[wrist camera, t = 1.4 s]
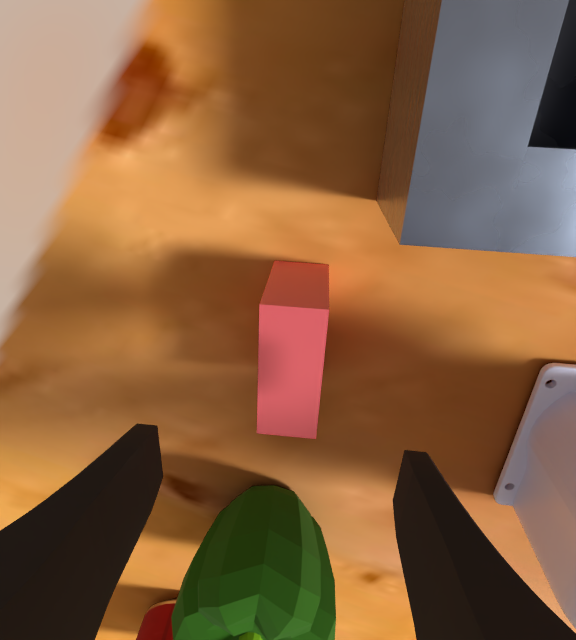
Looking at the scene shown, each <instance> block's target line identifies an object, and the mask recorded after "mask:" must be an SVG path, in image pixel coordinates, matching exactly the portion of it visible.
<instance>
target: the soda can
mask: <svg viewBox="0 0 576 640" xmlns="http://www.w3.org/2000/svg"><path fill="white" fill-rule="evenodd" d="M176 601H177V599H171V600H168V601H163V602H160V603H157V604H155V605H153V606H152V607H151V608H149V609H148V611H147V612H146V614H145V616H144V619H143V622H142V625H141V627H140V630H139V633H138V636H137V638H136V640H173V632H172V619H171V616H172V613H173V610H174V607H175V604H176Z"/></svg>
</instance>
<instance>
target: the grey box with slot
mask: <svg viewBox="0 0 576 640" xmlns="http://www.w3.org/2000/svg"><path fill="white" fill-rule="evenodd" d="M376 201H377V203H378V205H379V207H380V209H381V211H382V212H383V214H384V216H385V218H386V220H387V222H388V224H389V226H390V227H391V229H392V231H393V233H394V235H395V237H396V239H397V240H398V242H399V244H400V245H414V246H428V247H442V248H456V249H470V250H484V251H498V252H512V253H526V254H540V255H554V256H569V257H576V0H405V1H404V8H403V15H402V22H401V29H400V36H399V43H398V50H397V58H396V65H395V72H394V79H393V86H392V93H391V100H390V107H389V114H388V122H387V129H386V136H385V143H384V150H383V157H382V164H381V171H380V178H379V186H378V193H377V200H376Z"/></svg>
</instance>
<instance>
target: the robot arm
mask: <svg viewBox="0 0 576 640" xmlns="http://www.w3.org/2000/svg"><path fill="white" fill-rule="evenodd" d="M548 380H552V381H551V382H550V383H548V384H545V383H546V382H547V381H548ZM162 478H163V471H162V462H161V453H160V445H159V436H158V427H157V426H155V425H145V424H136V425H135V426H134V427H133V428H131V429H130V430H129V431H128V432H127V433H126V434H124V435H123V436H122V437H121V438H120V439H119V440H118V441H116V442H115V443H114V444H113V445H112V446H111V447H110V448H108V449H107V450H106V451H105V452H104V453H103V454H102V455H100V456H99V457H98V458H97V459H96V460H95V461H93V462H92V463H91V464H90V465H89V466H87V467H86V468H85V469H84V470H83V471H81V472H80V473H79V474H78V475H77V476H75V477H74V478H73V479H72V480H70V481H69V482H68V483H67V484H65V485H64V486H63V487H61V488H60V489H59V490H57V491H56V492H55V493H54V494H52V495H51V496H50V497H48V498H47V499H46V500H44V501H43V502H42V503H40V504H39V505H38V506H36V507H35V508H33V509H32V510H31V511H29V512H28V513H26V514H25V515H23V516H22V517H20V518H19V519H17V520H16V521H14V522H13V523H11V524H10V525H8V526H7V527H5V528H4V529H2V530H1V531H0V640H95V638H96V635H97V632H98V630H99V627H100V624H101V622H102V619H103V616H104V614H105V611H106V608H107V606H108V603H109V601H110V599H111V596H112V594H113V592H114V589H115V587H116V585H117V583H118V581H119V579H120V576H121V574H122V572H123V570H124V568H125V566H126V564H127V562H128V560H129V558H130V555H131V553H132V551H133V549H134V547H135V545H136V543H137V541H138V539H139V537H140V534H141V532H142V530H143V528H144V526H145V524H146V522H147V519H148V517H149V515H150V513H151V511H152V508H153V505H154V502H155V500H156V497H157V494H158V491H159V488H160V484H161V481H162ZM508 483H510V484H508ZM493 496H494V499H495V501H496V502H497V503H498V504H502V505H511V506H513V507H514V510H515V512H516V514H517V516H518V518H519V520H520V522H521V525H522V527H523V529H524V531H525V533H526V535H527V537H528V539H529V542H530V544H531V546H532V548H533V550H534V552H535V554H536V557H537V559H538V561H539V563H540V565H541V567H542V569H543V572H544V574H545V576H546V578H547V580H548V582H549V584H550V587H551V589H552V591H553V593H554V595H555V597H556V599H557V601H558V603H559V605H560V607H561V609H562V610H563V612H564V614H565V615H566V617H567V618H568V619H569V621H570V622H571V623H572V625H573V626H574V627H575V628H576V365H574V364H562V363H549V364H546V365H545V366H544V367H542V369H541V370H540V373H539V375H538V378H537V381H536V383H535V386H534V389H533V391H532V394H531V396H530V399H529V402H528V404H527V407H526V410H525V412H524V415H523V417H522V420H521V423H520V425H519V428H518V430H517V433H516V436H515V438H514V441H513V444H512V446H511V449H510V451H509V454H508V457H507V459H506V462H505V465H504V467H503V470H502V472H501V475H500V478H499V480H498V483H497V485H496V488H495V491H494V493H493ZM393 509H394V520H395V530H396V539H397V544H398V549H399V554H400V559H401V563H402V568H403V573H404V578H405V583H406V588H407V592H408V597H409V602H410V607H411V612H412V616H413V621H414V627H415V632H416V638H417V640H576V633H575V632H574V631H573V630H571V629H570V628H569V627H568V626H567V625H566V624H565V623H564V622H563V621H562V620H561V619H560V618H559V617H558V616H557V615H556V614H555V613H554V612H553V611H552V610H551V609H550V608H549V607H548V606H547V605H546V604H545V603H544V602H543V601H542V600H541V599H540V598H539V597H538V596H537V595H536V594H535V593H534V592H533V591H532V590H531V589H530V587H529V586H528V585H527V584H526V583H525V582H524V581H523V580H522V579H521V578H520V576H519V575H518V574H517V573H516V572H515V571H514V570H513V569H512V567H511V566H510V565H509V564H508V563H507V562H506V560H505V559H504V558H503V557H502V556H501V555H500V553H499V552H498V551H497V550H496V548H495V547H494V546H493V545H492V543H491V542H490V541H489V540H488V538H487V537H486V536H485V535H484V533H483V532H482V531H481V530H480V528H479V527H478V526H477V524H476V523H475V522H474V520H473V519H472V518H471V516H470V515H469V513H468V512H467V511H466V509H465V508H464V507H463V505H462V504H461V502H460V501H459V500H458V498H457V497H456V495H455V494H454V492H453V491H452V490H451V488H450V487H449V485H448V484H447V482H446V481H445V479H444V478H443V476H442V475H441V473H440V472H439V470H438V469H437V467H436V465H435V464H434V462H433V461H432V459H431V458H430V456H429V455H428V454H427V452H418V451H408V450H405V451H404V455H403V459H402V463H401V468H400V472H399V476H398V480H397V485H396V489H395V493H394V498H393Z"/></svg>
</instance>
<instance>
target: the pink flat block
mask: <svg viewBox="0 0 576 640" xmlns="http://www.w3.org/2000/svg"><path fill="white" fill-rule="evenodd" d="M328 316H329V265H327V264H314V263H300V262H287V261H274V264H273V267H272V270H271V273H270V275H269V278H268V281H267V284H266V287H265V290H264V293H263V295H262V298H261V301H260V304H259V350H258V401H257V433H258V434H269V435H279V436H290V437H300V438H311V439H316V433H317V424H318V414H319V404H320V394H321V385H322V375H323V365H324V355H325V346H326V336H327V326H328Z"/></svg>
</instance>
